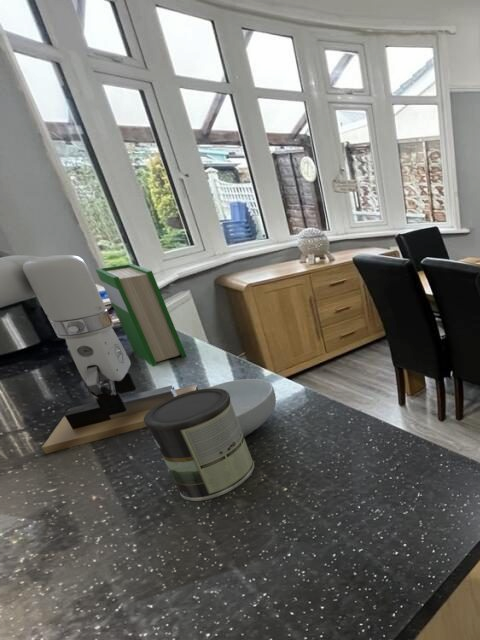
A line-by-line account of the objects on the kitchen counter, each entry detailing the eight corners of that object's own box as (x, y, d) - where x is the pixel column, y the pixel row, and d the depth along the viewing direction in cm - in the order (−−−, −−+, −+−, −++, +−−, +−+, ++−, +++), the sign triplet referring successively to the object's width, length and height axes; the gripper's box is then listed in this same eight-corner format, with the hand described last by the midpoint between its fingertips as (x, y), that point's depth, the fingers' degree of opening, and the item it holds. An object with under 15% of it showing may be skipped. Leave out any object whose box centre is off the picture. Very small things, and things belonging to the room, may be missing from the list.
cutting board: (45, 454, 71) (41, 447, 71) (67, 422, 81) (63, 416, 80) (194, 414, 82) (191, 408, 82) (198, 390, 91) (196, 384, 91)
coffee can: (170, 510, 58) (130, 433, 53) (190, 467, 67) (158, 396, 61) (249, 489, 62) (220, 414, 56) (259, 450, 71) (234, 382, 65)
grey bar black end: (178, 396, 86) (172, 384, 85) (176, 403, 84) (170, 390, 82) (77, 421, 78) (69, 408, 77) (72, 429, 76) (64, 415, 74)
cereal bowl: (234, 403, 86) (223, 375, 83) (300, 410, 82) (292, 381, 79) (155, 454, 70) (139, 422, 68) (233, 465, 67) (219, 431, 64)
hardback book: (186, 356, 109) (151, 271, 99) (153, 366, 104) (112, 277, 94) (165, 342, 119) (131, 263, 109) (133, 351, 113) (95, 269, 103)
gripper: (98, 333, 68) (137, 416, 75) (120, 307, 81) (152, 379, 88) (36, 343, 64) (83, 429, 71) (70, 314, 78) (107, 389, 85)
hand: (121, 402), depth 80 cm, fingers open, 9 cm apart
